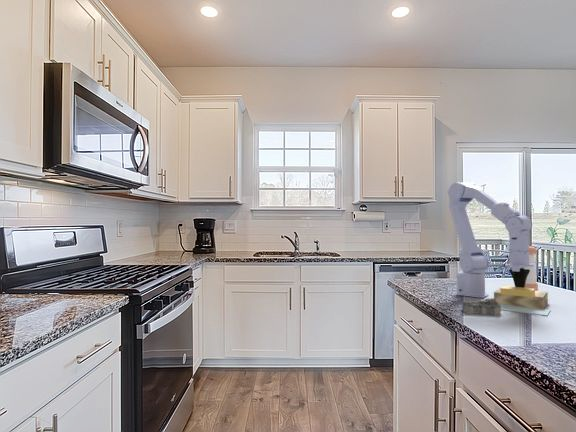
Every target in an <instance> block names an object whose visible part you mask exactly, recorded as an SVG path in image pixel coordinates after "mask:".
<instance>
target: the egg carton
mask: <svg viewBox="0 0 576 432" xmlns="http://www.w3.org/2000/svg"><path fill="white" fill-rule="evenodd" d="M461 303H462V311H464V312H465V313H468V314H481V315H487V314H489V315H490V314H491V315H494V316H498V315H501V314H502V310H501V308H502V307H501V306H500V305H499V304H498V302H497V301H496V299H494V298H486V299H485V300H478V301H473V300H472V301H466V300H465V301H464V300H461Z"/></svg>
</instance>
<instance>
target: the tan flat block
mask: <svg viewBox="0 0 576 432" xmlns="http://www.w3.org/2000/svg"><path fill="white" fill-rule="evenodd" d="M548 293H549V292H548V291H542V290H538V291H535V295H534V296H533V297H523V296H514V295H504V294H500V288H498V289H497V290H494V291H493V299H496V301H497V302H498V303H499V304H507V305H515V306H523V307H531V308H539V309H546V307H547V305H548V303H549V302H548V296H549V295H548Z"/></svg>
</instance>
